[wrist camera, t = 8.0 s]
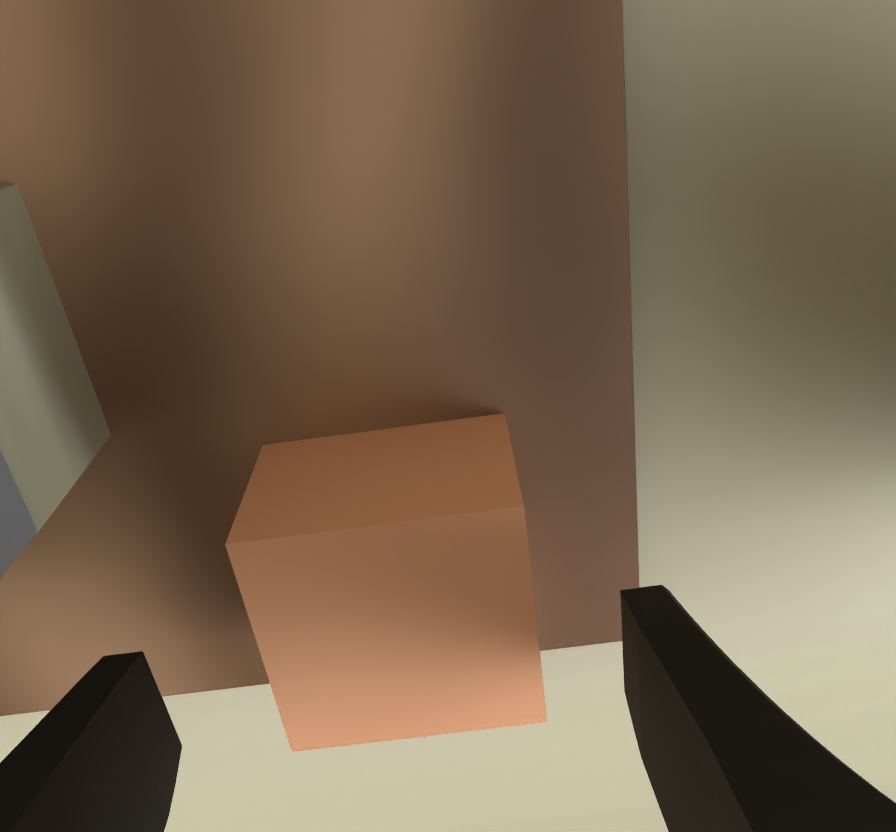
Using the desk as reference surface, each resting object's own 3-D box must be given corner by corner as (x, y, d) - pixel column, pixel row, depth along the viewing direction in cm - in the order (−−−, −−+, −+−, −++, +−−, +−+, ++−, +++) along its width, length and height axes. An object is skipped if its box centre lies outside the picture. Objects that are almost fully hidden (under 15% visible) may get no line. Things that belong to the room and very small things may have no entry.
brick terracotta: (504, 413, 14) (524, 506, 11) (526, 604, 16) (547, 721, 13) (262, 445, 14) (225, 543, 11) (313, 630, 16) (292, 751, 13)
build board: (600, -362, 10) (687, -548, 7) (633, 619, 17) (683, 758, 14) (-535, -172, 10) (-969, -260, 7) (-36, 700, 18) (-140, 853, 14)
